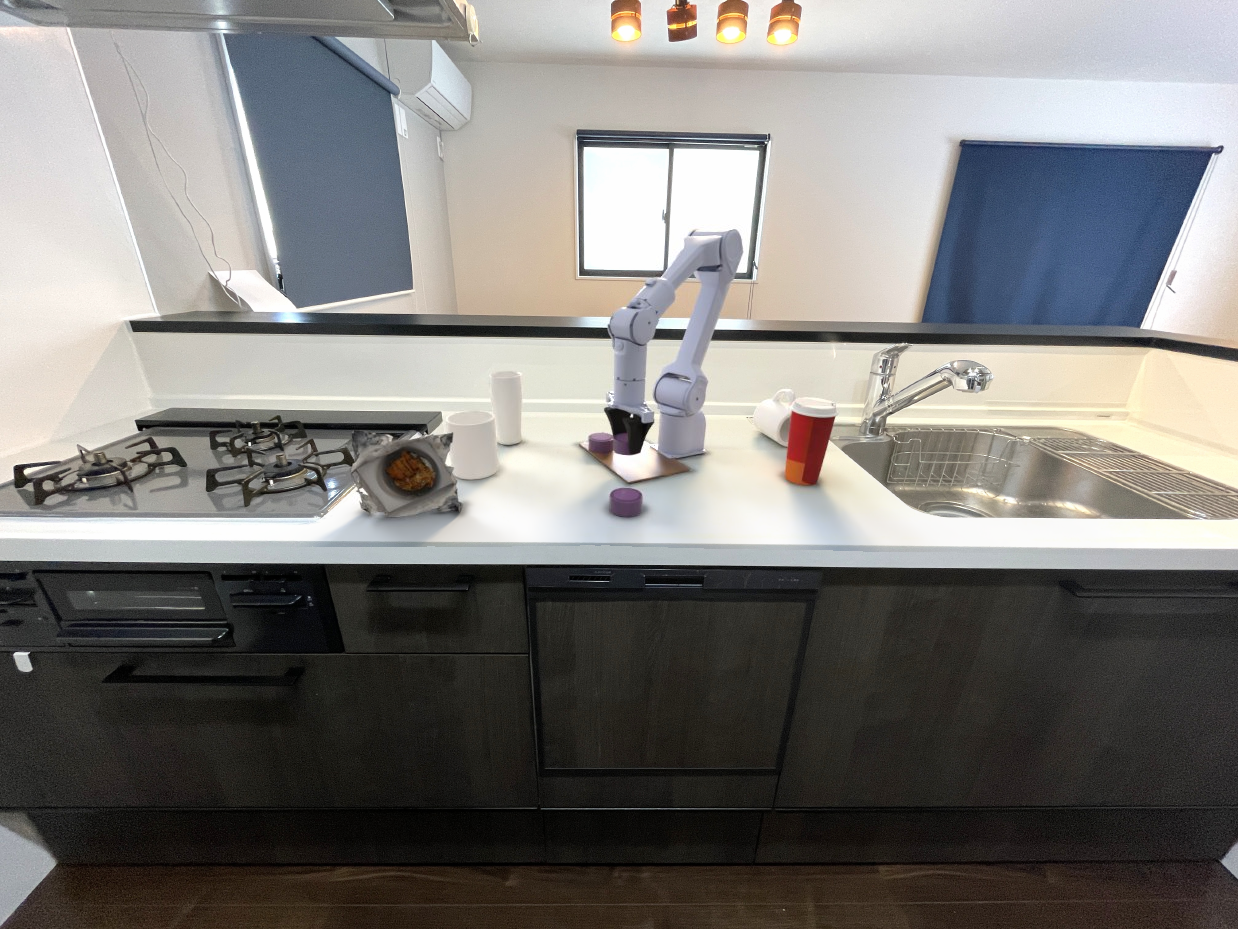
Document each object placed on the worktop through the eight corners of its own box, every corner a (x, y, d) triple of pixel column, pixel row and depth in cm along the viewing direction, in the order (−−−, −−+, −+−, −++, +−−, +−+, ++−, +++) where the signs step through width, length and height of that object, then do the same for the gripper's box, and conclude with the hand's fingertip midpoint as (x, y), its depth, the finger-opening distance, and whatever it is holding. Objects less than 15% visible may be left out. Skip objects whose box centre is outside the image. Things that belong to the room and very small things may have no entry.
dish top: (606, 442, 108) (606, 430, 107) (618, 450, 103) (618, 438, 102) (584, 446, 105) (584, 434, 104) (595, 454, 101) (595, 442, 100)
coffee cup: (823, 473, 96) (838, 399, 90) (824, 491, 89) (841, 411, 83) (778, 467, 99) (790, 394, 93) (776, 483, 92) (789, 405, 86)
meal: (463, 502, 82) (455, 427, 76) (459, 515, 78) (450, 437, 73) (368, 506, 80) (352, 429, 74) (358, 519, 76) (342, 439, 71)
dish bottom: (631, 498, 84) (632, 484, 83) (648, 512, 80) (649, 497, 79) (603, 505, 82) (603, 490, 81) (619, 519, 78) (619, 504, 77)
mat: (634, 435, 114) (634, 433, 113) (690, 470, 96) (690, 468, 96) (578, 444, 107) (578, 442, 107) (628, 484, 90) (628, 482, 90)
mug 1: (497, 454, 101) (493, 404, 97) (499, 478, 90) (495, 423, 86) (454, 457, 99) (448, 406, 95) (450, 482, 88) (443, 426, 84)
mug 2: (780, 430, 119) (788, 381, 115) (806, 445, 110) (816, 393, 105) (750, 433, 117) (757, 383, 112) (774, 448, 108) (782, 395, 103)
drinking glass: (518, 448, 104) (514, 378, 98) (488, 445, 105) (482, 376, 100) (529, 437, 110) (526, 371, 104) (501, 434, 112) (496, 369, 106)
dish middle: (632, 443, 98) (632, 430, 96) (646, 452, 93) (647, 439, 92) (608, 447, 95) (608, 434, 94) (621, 457, 91) (621, 443, 90)
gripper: (592, 371, 93) (591, 438, 98) (630, 389, 81) (627, 464, 86) (624, 368, 96) (622, 433, 101) (666, 385, 84) (661, 458, 90)
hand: (627, 447), depth 94 cm, fingers closed on dish middle, 5 cm apart
